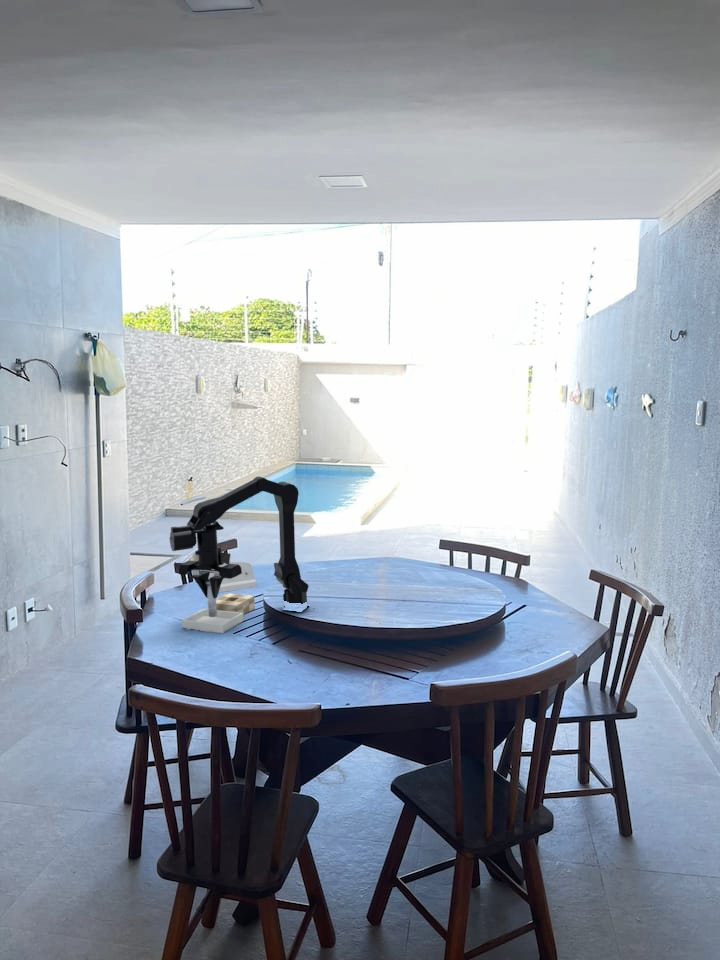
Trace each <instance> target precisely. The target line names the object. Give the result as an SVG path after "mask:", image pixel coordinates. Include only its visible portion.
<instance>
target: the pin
mask: <svg viewBox="0 0 720 960" xmlns="http://www.w3.org/2000/svg"><path fill="white" fill-rule="evenodd" d="M205 584H206V585H207V598H206V599H207V609H208V611H209V617H215V616H217V607H216V599H217V598H214V597H213V593H212V588H211V583H210V579H207V580H205Z"/></svg>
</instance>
